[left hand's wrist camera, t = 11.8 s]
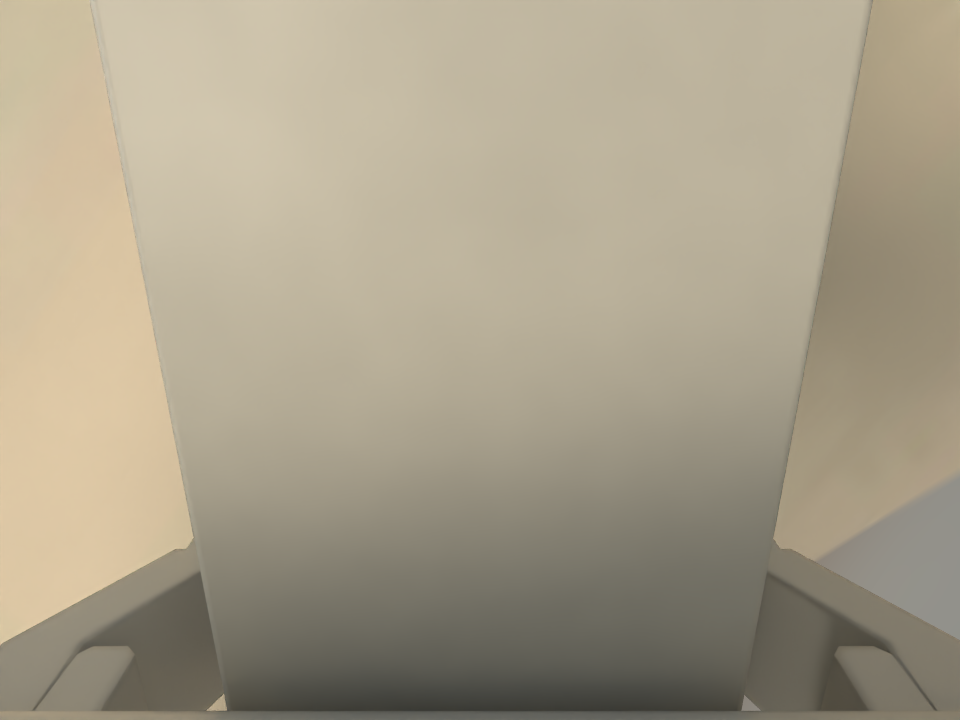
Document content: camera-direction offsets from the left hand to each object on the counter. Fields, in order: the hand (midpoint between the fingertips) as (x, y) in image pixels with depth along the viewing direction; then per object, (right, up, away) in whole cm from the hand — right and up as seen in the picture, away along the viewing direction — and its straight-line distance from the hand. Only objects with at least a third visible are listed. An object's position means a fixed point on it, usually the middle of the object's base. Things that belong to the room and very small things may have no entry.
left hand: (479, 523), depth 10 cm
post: (0, +34, -10) cm, 35 cm away
